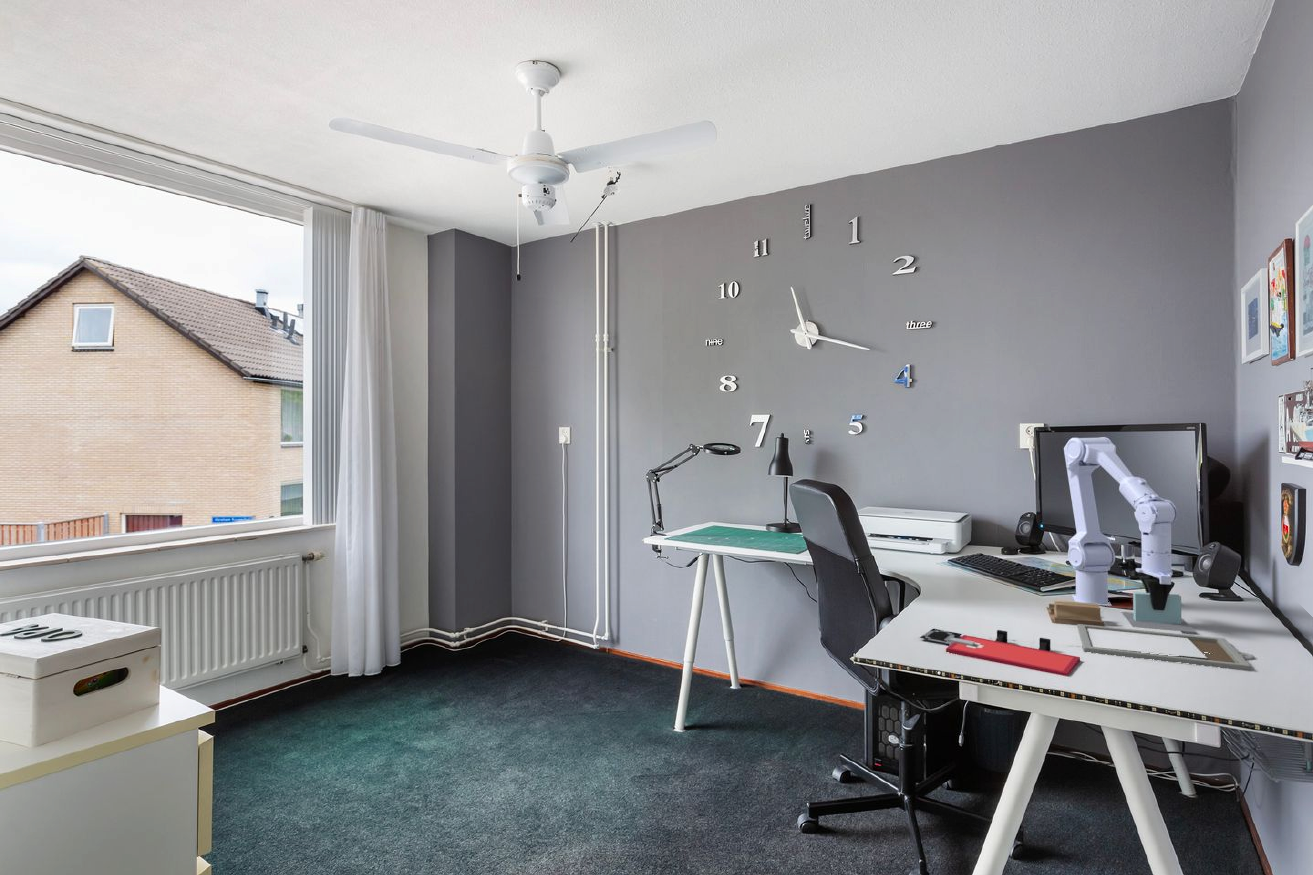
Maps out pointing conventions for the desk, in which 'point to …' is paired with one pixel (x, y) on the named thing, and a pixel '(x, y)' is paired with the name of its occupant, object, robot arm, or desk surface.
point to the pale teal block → (1148, 614)
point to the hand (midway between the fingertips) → (1156, 608)
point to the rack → (1072, 619)
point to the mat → (1160, 625)
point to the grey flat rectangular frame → (1218, 657)
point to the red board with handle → (1006, 651)
